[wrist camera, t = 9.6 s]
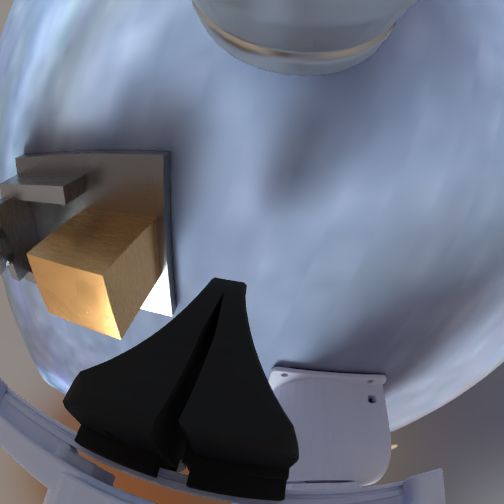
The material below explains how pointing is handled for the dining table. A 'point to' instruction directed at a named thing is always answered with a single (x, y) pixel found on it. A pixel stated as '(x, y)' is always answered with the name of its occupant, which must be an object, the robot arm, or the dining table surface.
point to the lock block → (98, 269)
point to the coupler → (86, 204)
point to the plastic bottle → (300, 31)
